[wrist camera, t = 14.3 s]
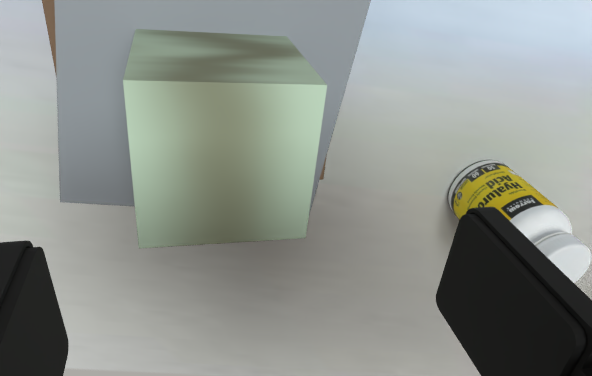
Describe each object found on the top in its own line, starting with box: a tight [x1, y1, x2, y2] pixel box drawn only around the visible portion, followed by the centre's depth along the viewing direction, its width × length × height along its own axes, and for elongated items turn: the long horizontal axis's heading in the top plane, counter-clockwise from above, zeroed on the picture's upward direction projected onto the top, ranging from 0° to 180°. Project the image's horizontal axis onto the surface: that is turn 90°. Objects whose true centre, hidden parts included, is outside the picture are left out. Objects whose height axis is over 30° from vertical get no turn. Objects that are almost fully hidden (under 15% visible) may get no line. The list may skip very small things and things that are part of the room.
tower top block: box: [54, 0, 371, 214], centre depth 21 cm, size 12×12×4 cm
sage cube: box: [123, 29, 327, 248], centre depth 18 cm, size 6×6×6 cm
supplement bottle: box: [448, 160, 592, 283], centre depth 33 cm, size 5×5×10 cm
